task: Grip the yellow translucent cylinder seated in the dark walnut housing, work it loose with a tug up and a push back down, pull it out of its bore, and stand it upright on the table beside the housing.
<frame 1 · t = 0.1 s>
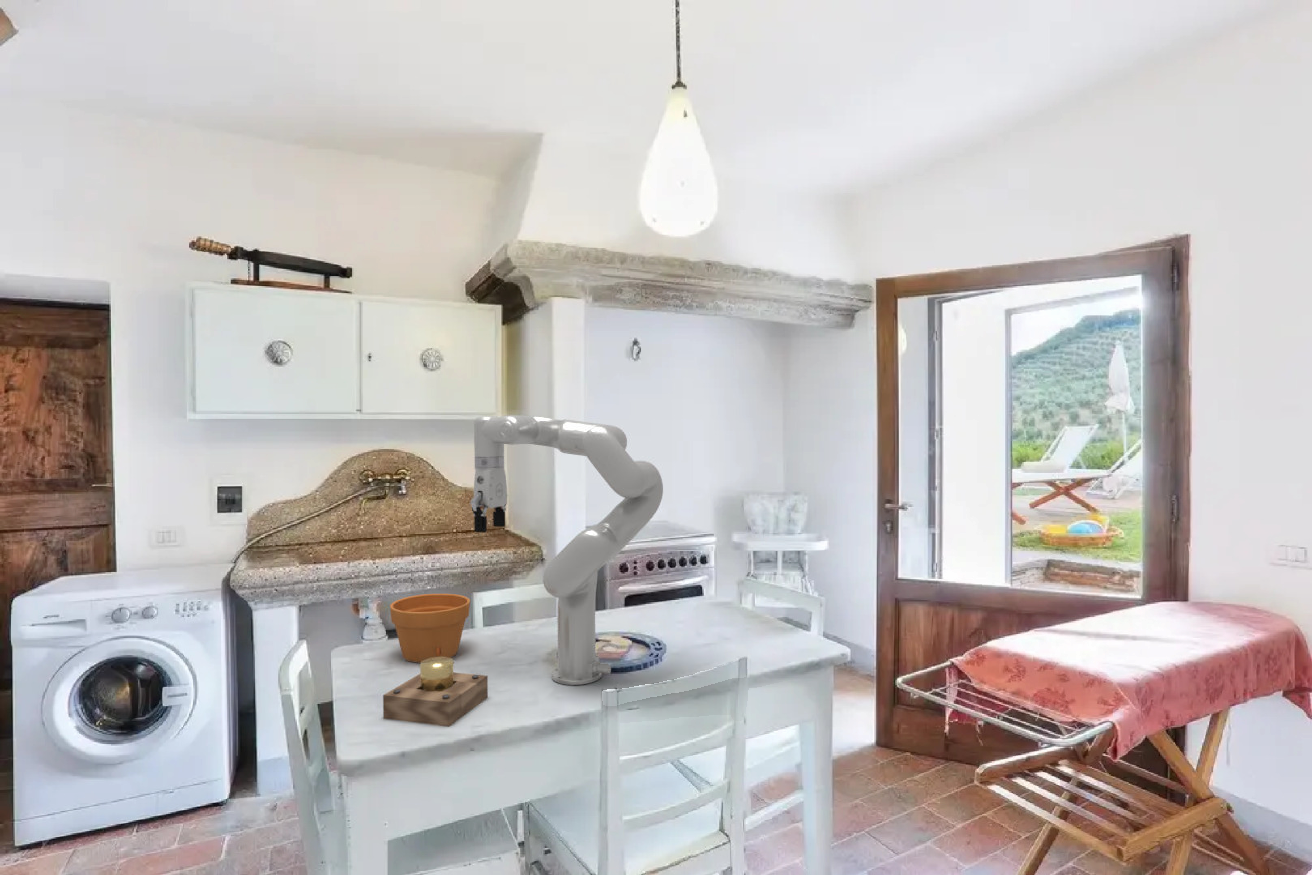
hand: (490, 529, 181), 37 cm above the table, tool pointing down, fingers open, 9 cm apart
yellow translucent cylinder: (437, 707, 154), point 1 cm above the table, touching walnut housing
flower pot: (431, 655, 193), on the table
walnut housing: (437, 711, 154), on the table
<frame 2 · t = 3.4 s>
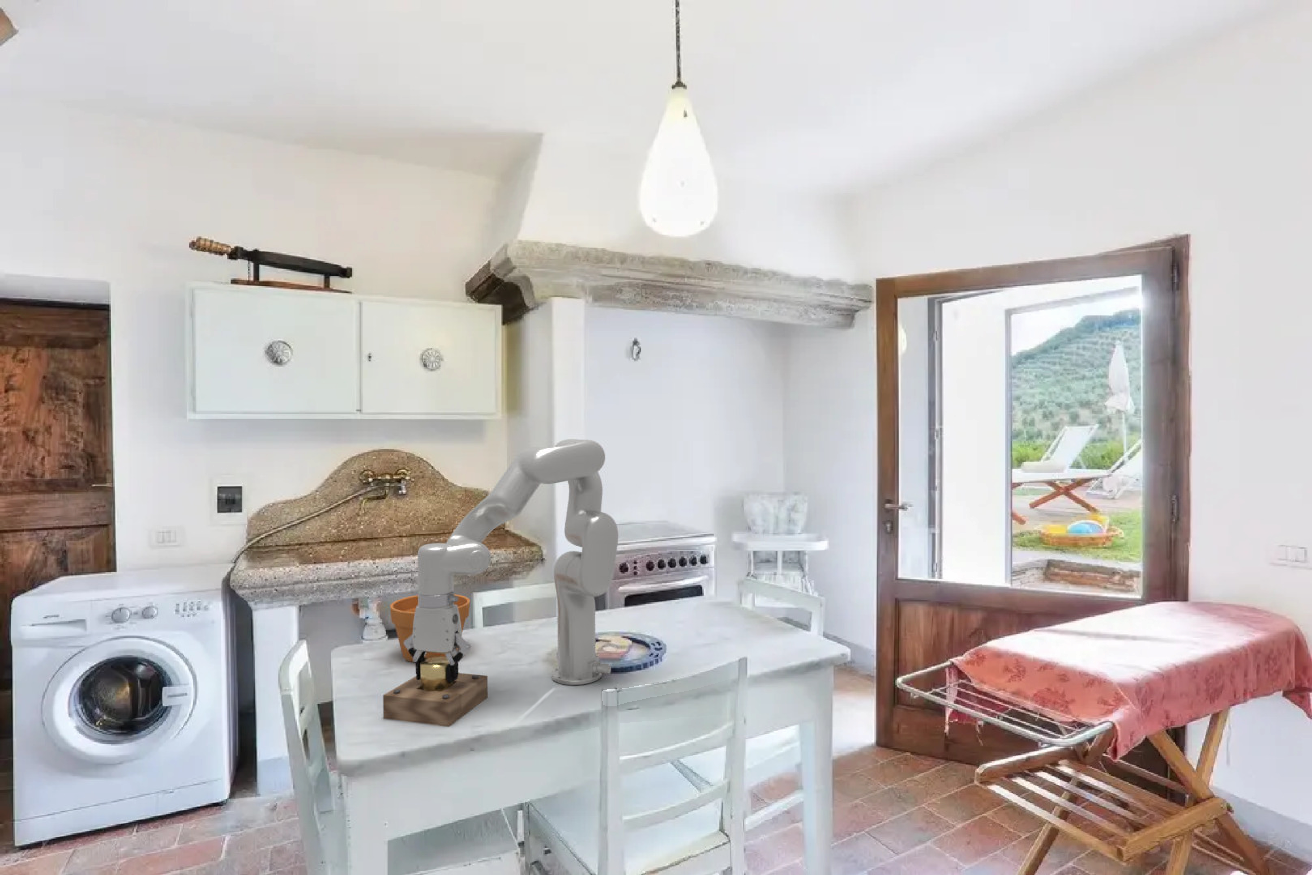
hand: (437, 678, 154), 7 cm above the table, tool pointing down, fingers closed on yellow translucent cylinder, 7 cm apart
yellow translucent cylinder: (437, 707, 154), point 1 cm above the table, touching gripper, walnut housing
everything else where it was.
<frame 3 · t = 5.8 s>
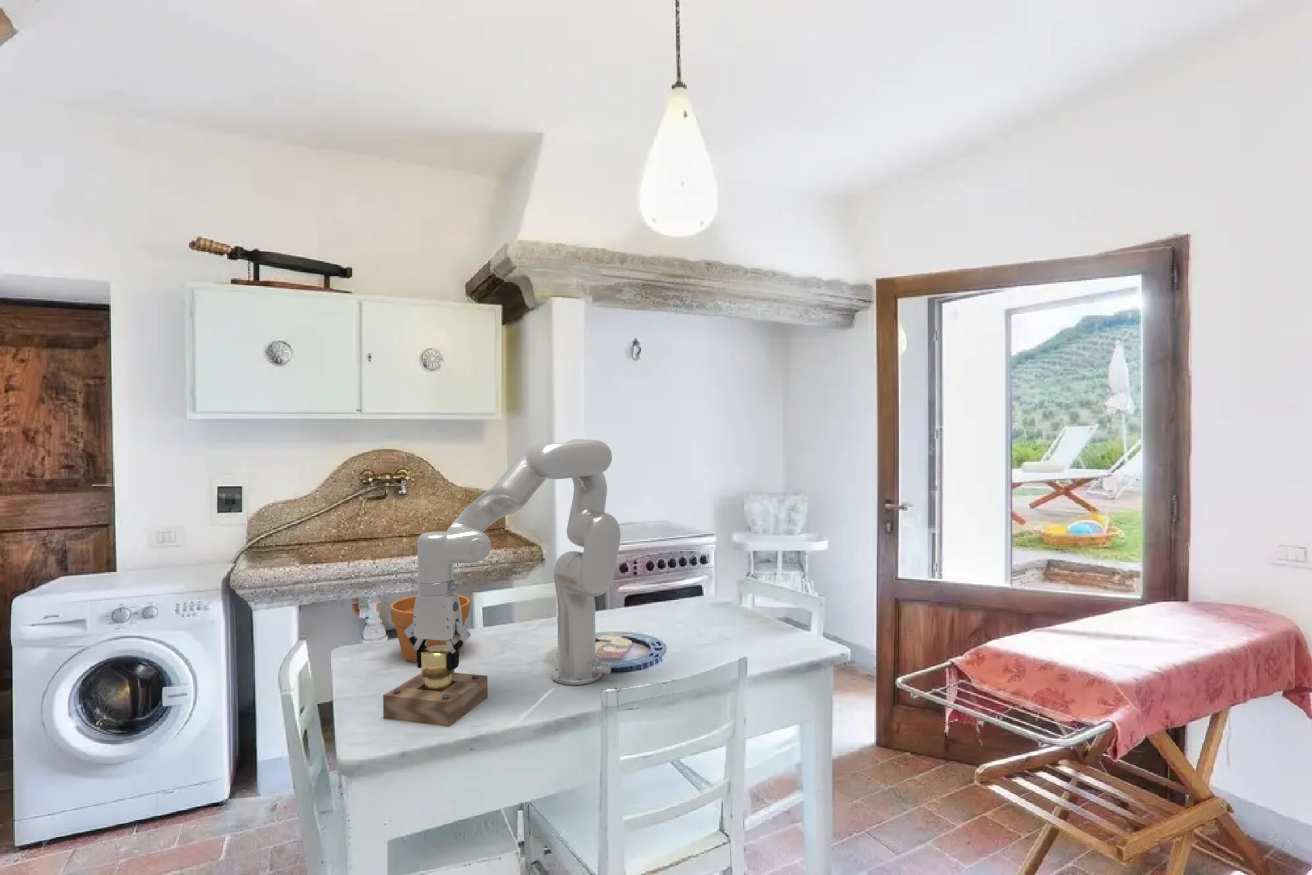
hand: (437, 666, 154), 10 cm above the table, tool pointing down, fingers closed on yellow translucent cylinder, 7 cm apart
yellow translucent cylinder: (438, 695, 154), point 4 cm above the table, touching gripper
everything else where it was.
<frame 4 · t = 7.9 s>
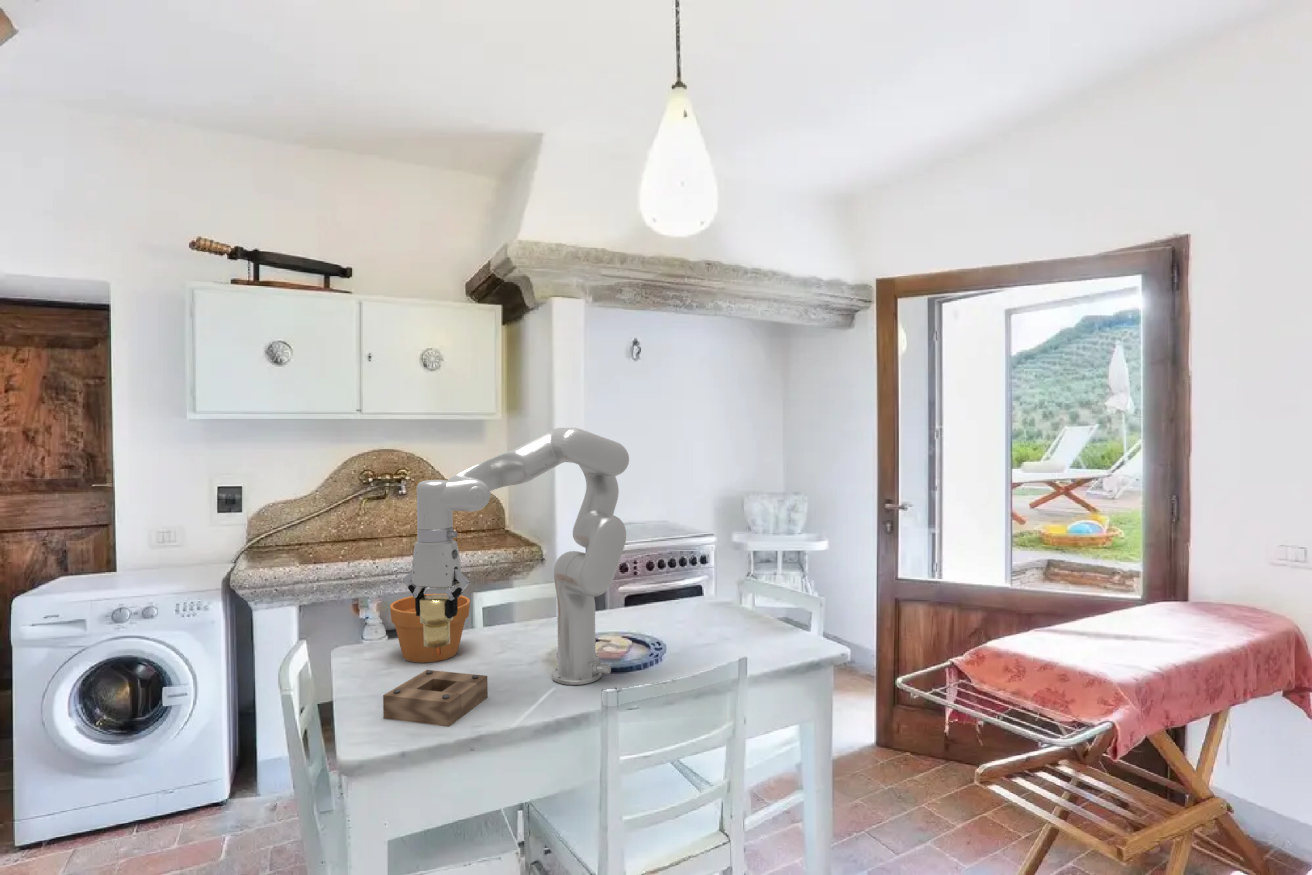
hand: (436, 614, 154), 22 cm above the table, tool pointing down, fingers closed on yellow translucent cylinder, 7 cm apart
yellow translucent cylinder: (437, 643, 154), point 15 cm above the table, touching gripper
everything else where it was.
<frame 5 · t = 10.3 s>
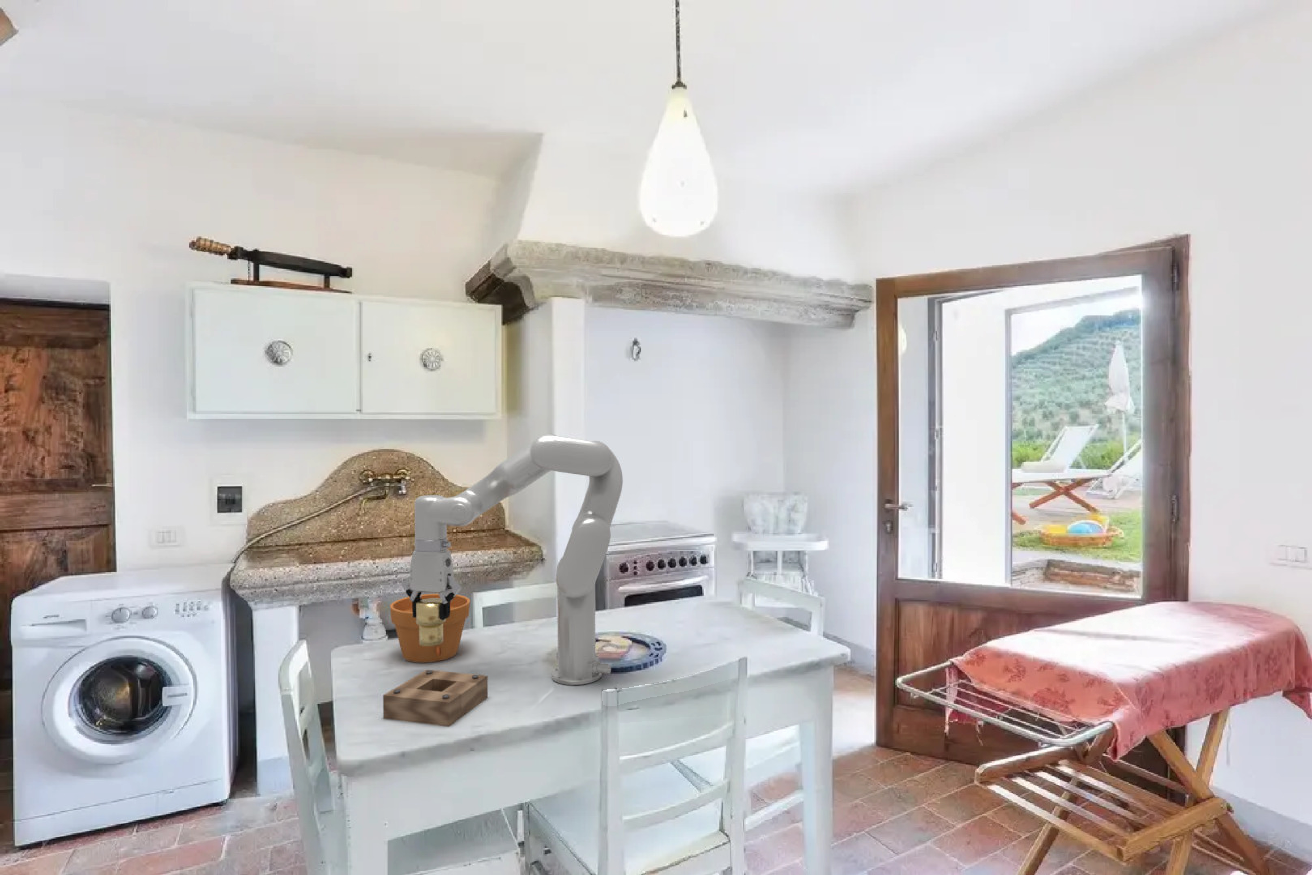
hand: (431, 616, 171), 17 cm above the table, tool pointing down, fingers closed on yellow translucent cylinder, 7 cm apart
yellow translucent cylinder: (431, 642, 171), point 10 cm above the table, touching gripper
everything else where it was.
when the fingers open (8 cm above the table, at t = 12.3 s): yellow translucent cylinder drops 2 cm, on the table.
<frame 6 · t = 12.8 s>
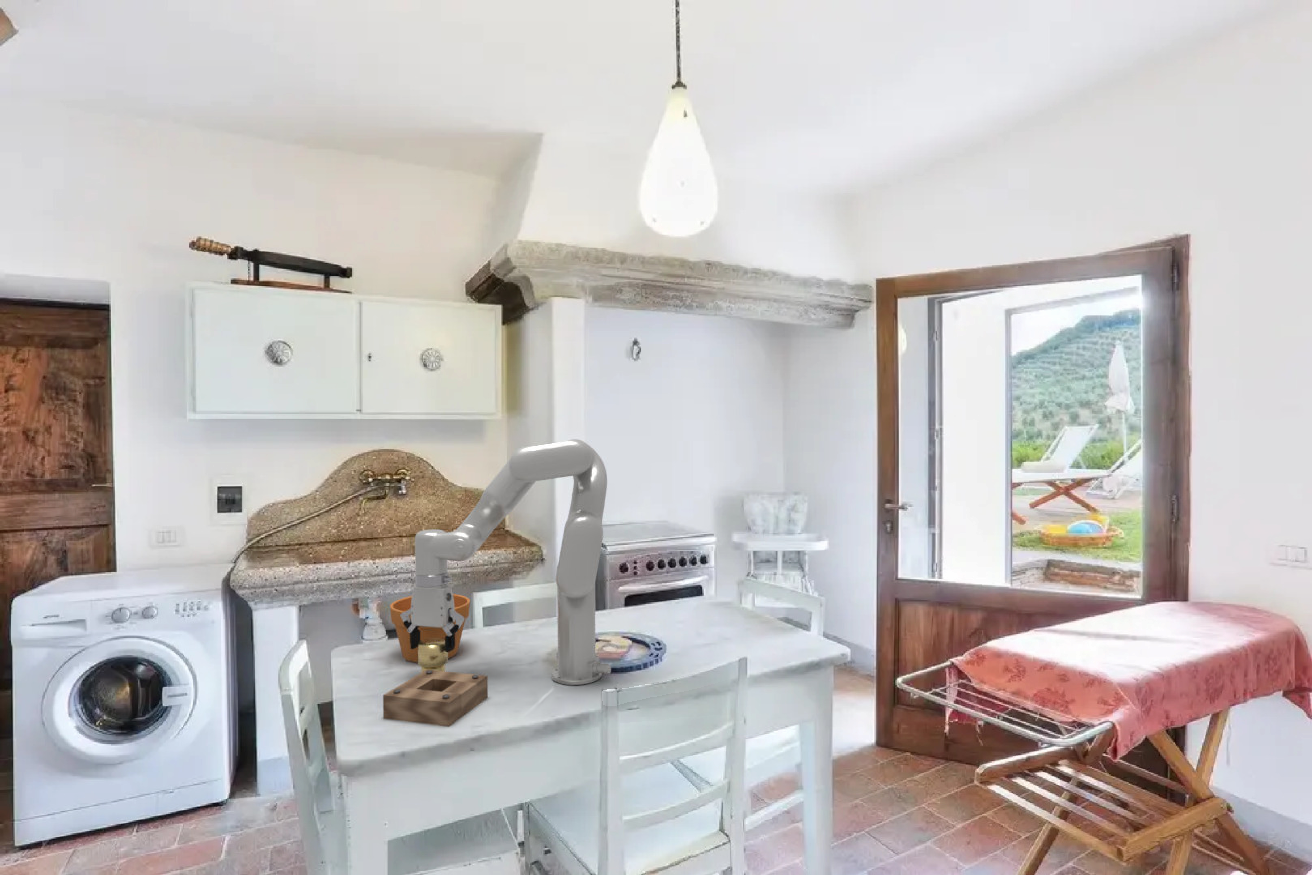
hand: (432, 648, 172), 9 cm above the table, tool pointing down, fingers open, 9 cm apart
yellow translucent cylinder: (433, 683, 172), on the table
everything else where it was.
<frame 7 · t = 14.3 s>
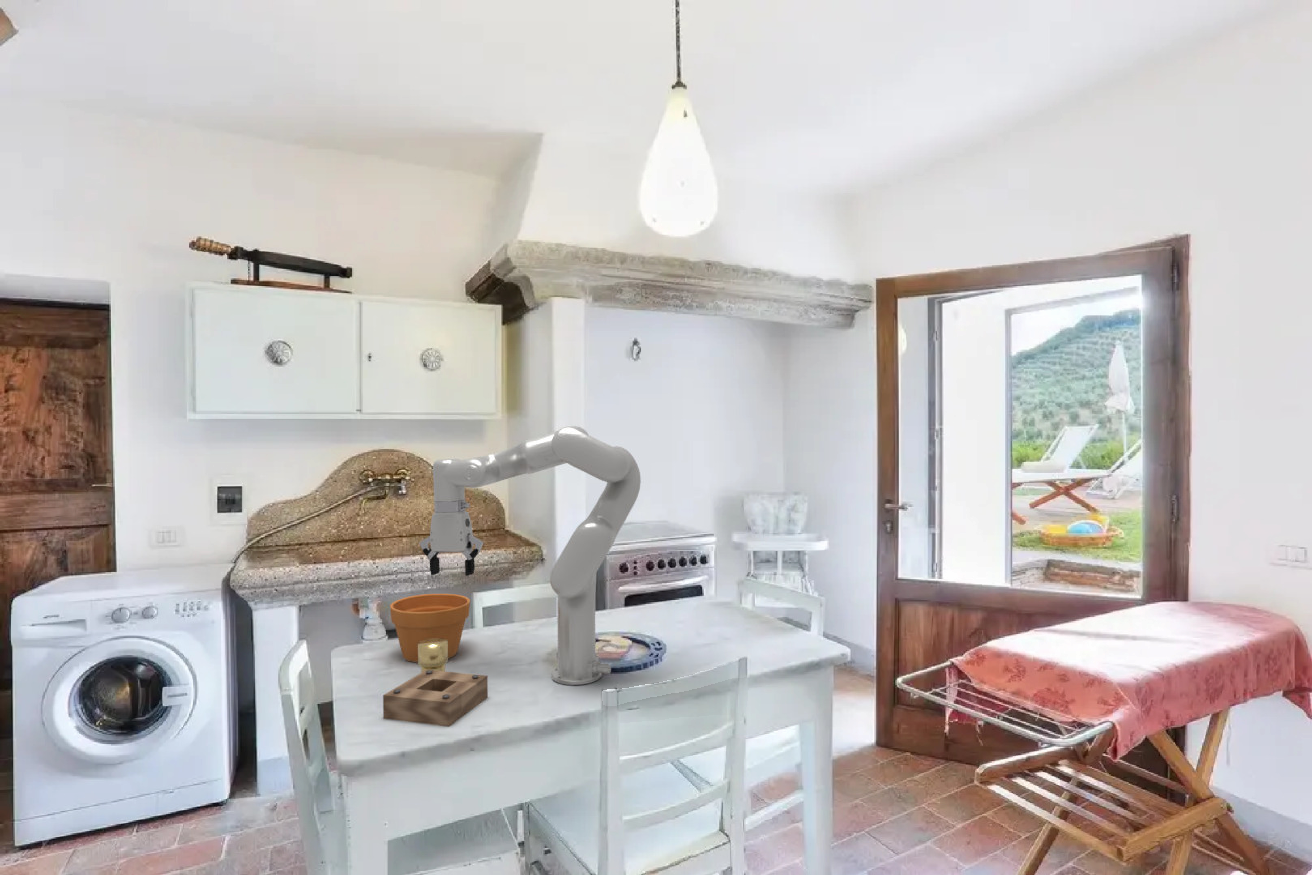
hand: (452, 574, 177), 26 cm above the table, tool pointing down, fingers open, 9 cm apart
nothing on the table moved.
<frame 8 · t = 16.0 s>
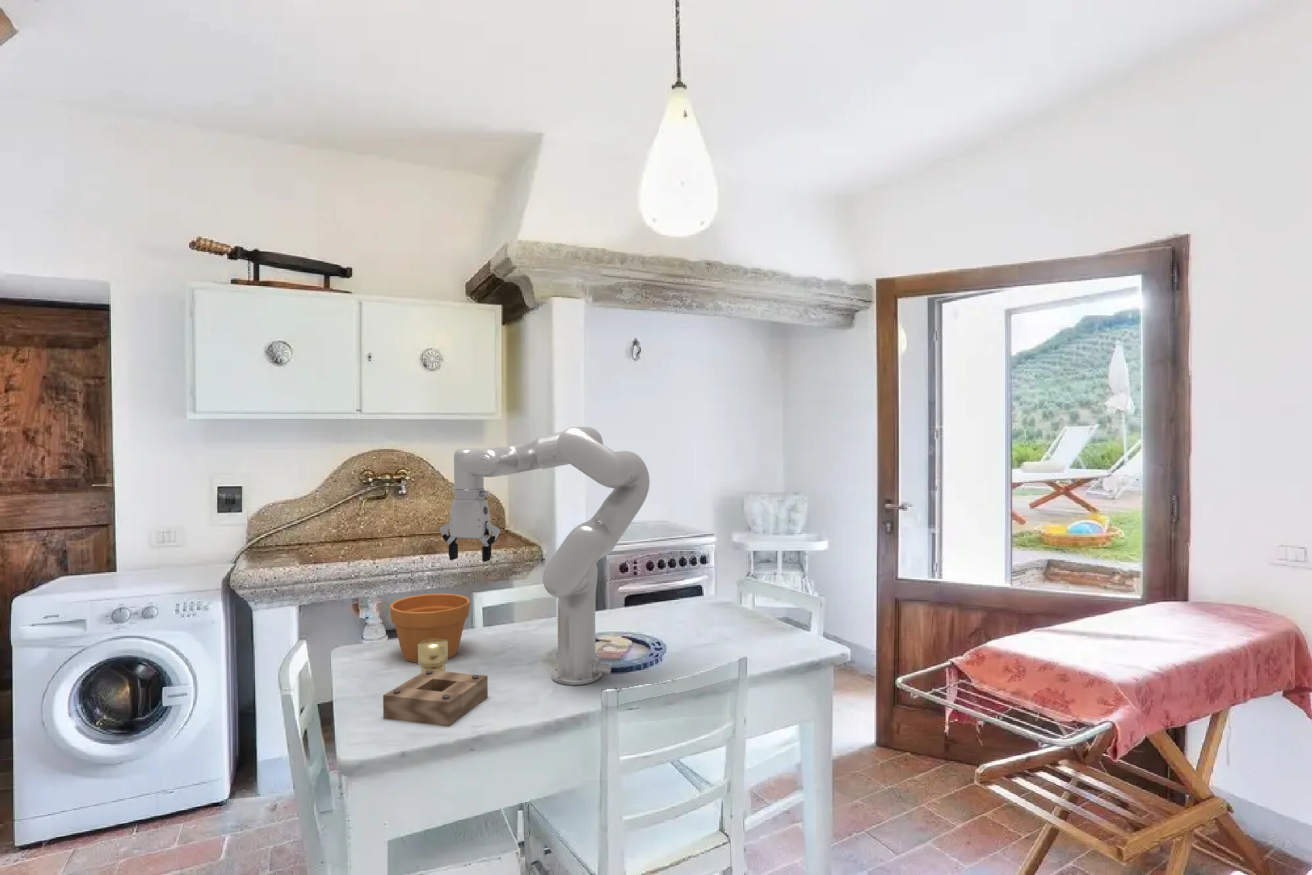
hand: (469, 559, 183), 28 cm above the table, tool pointing down, fingers open, 9 cm apart
nothing on the table moved.
at the end: yellow translucent cylinder inside the target area (0.1 cm from its centre), on the table; yellow translucent cylinder tilted 0°; yellow translucent cylinder touching table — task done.
